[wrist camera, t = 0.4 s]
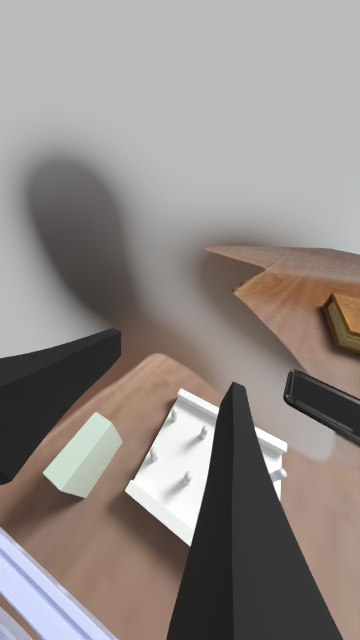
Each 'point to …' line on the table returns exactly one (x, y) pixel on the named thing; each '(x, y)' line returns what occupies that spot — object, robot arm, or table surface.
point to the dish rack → (189, 465)
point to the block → (84, 457)
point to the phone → (323, 403)
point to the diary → (344, 321)
